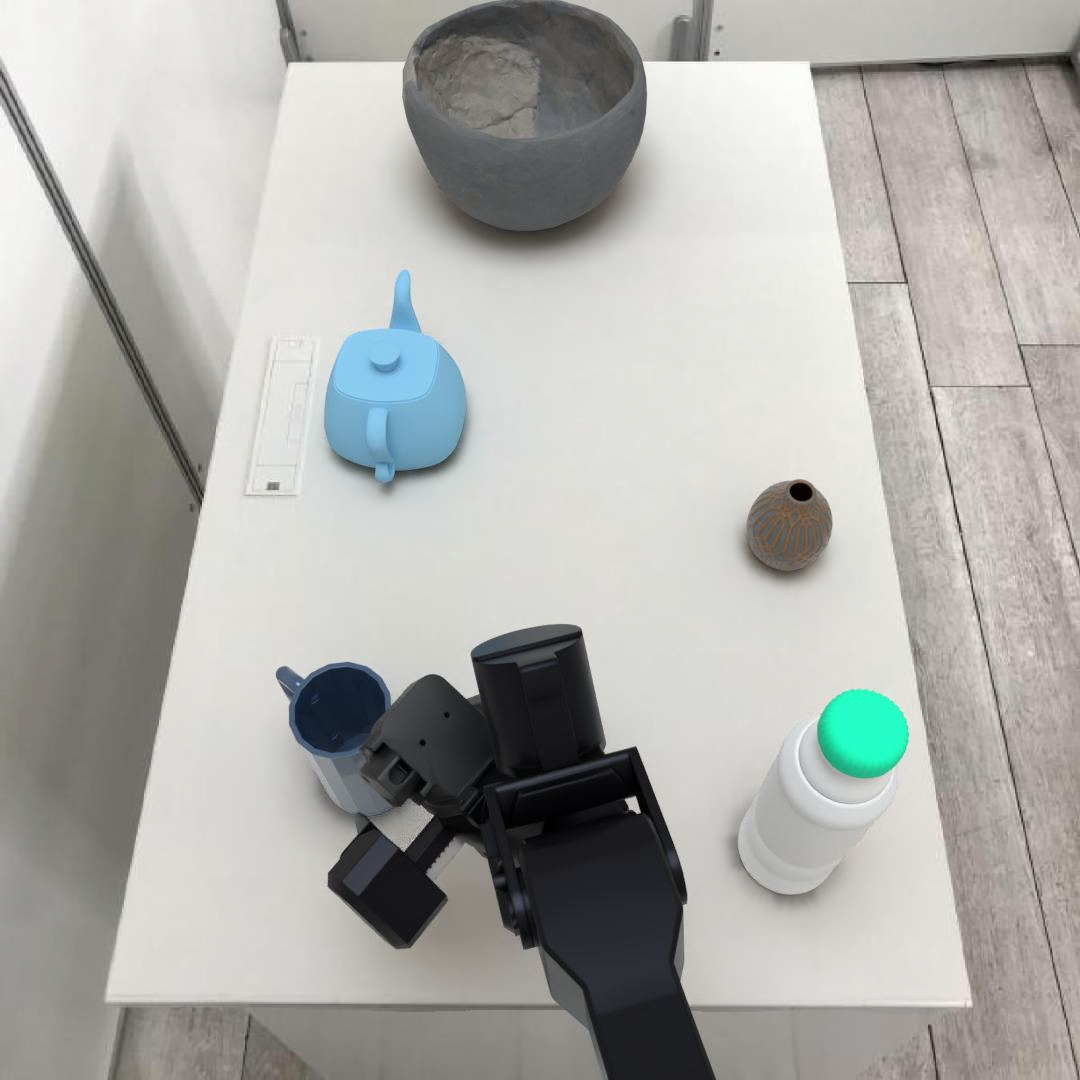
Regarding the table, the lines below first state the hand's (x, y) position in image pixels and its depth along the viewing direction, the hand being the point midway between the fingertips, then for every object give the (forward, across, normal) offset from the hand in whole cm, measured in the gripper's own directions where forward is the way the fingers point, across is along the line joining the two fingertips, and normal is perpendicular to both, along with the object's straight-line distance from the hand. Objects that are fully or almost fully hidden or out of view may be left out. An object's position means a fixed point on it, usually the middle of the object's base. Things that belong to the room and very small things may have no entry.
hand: (407, 764), depth 70 cm
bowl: (+35, -59, -17) cm, 71 cm away
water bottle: (-7, -14, +24) cm, 29 cm away
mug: (+14, 0, +3) cm, 14 cm away
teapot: (+27, -27, -10) cm, 40 cm away
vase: (+2, -36, +15) cm, 39 cm away
